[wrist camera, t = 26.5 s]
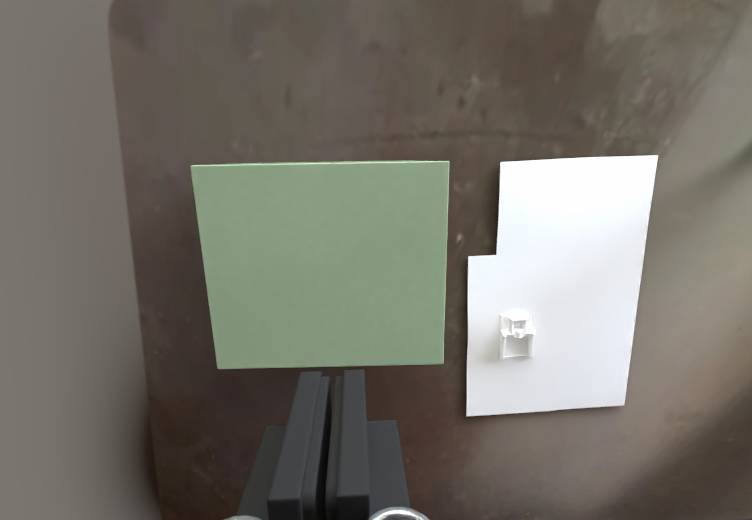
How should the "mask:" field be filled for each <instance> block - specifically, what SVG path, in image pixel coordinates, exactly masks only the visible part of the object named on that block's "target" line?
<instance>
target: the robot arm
mask: <svg viewBox="0 0 752 520" xmlns="http://www.w3.org/2000/svg"><path fill="white" fill-rule="evenodd" d="M225 520H429V519H428V518H427V517H426V516H425V515H423V514H421V513H420V512H418V511H416V510H414V509H410V504H409V498H408V491H407V485H406V478H405V472H404V466H403V459H402V453H401V446H400V440H399V434H398V427H397V422H396V420H385V421H366V400H365V375H364V370H344V376H336V381H335V392H334V402H333V413H332V405H331V386H330V377H323V376H322V371H315V372H300V375H299V379H298V383H297V387H296V391H295V395H294V398H293V402H292V406H291V410H290V414H289V418H288V421H287V425H279V426H267V427H266V429H265V431H264V434H263V437H262V440H261V443H260V445H259V448H258V451H257V454H256V457H255V460H254V463H253V466H252V469H251V472H250V475H249V478H248V481H247V484H246V487H245V490H244V493H243V496H242V499H241V502H240V505H239V508H238V511H237V514H236V516H234V517H231V518H228V519H225Z"/></svg>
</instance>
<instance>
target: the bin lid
mask: <svg viewBox="0 0 752 520" xmlns="http://www.w3.org/2000/svg"><path fill="white" fill-rule="evenodd" d="M190 167H191V174H192V182H193V189H194V197H195V204H196V212H197V219H198V227H199V234H200V242H201V249H202V257H203V264H204V272H205V279H206V286H207V294H208V301H209V309H210V316H211V324H212V331H213V339H214V346H215V354H216V361H217V369H245V368H290V367H336V366H381V365H427V364H443V352H444V319H445V287H446V254H447V222H448V189H449V161H424V162H364V163H305V164H246V165H192V166H190Z"/></svg>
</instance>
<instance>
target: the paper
mask: <svg viewBox="0 0 752 520" xmlns="http://www.w3.org/2000/svg"><path fill="white" fill-rule="evenodd" d="M657 159H658V155H653V156H621V157H587V158H566V159H549V160H530V161H511V162H501V164H500V194H499V218H498V234H497V252H496V255H486V256H469V257H468V348H467V413H466V416H480V415H496V414H511V413H526V412H541V411H556V410H562V409H576V408H591V407H606V406H621V405H624V403H625V395H626V388H627V380H628V372H629V365H630V357H631V350H632V342H633V334H634V327H635V319H636V311H637V303H638V296H639V289H640V281H641V274H642V267H643V259H644V251H645V244H646V236H647V229H648V221H649V214H650V207H651V200H652V193H653V186H654V180H655V173H656V166H657Z"/></svg>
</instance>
